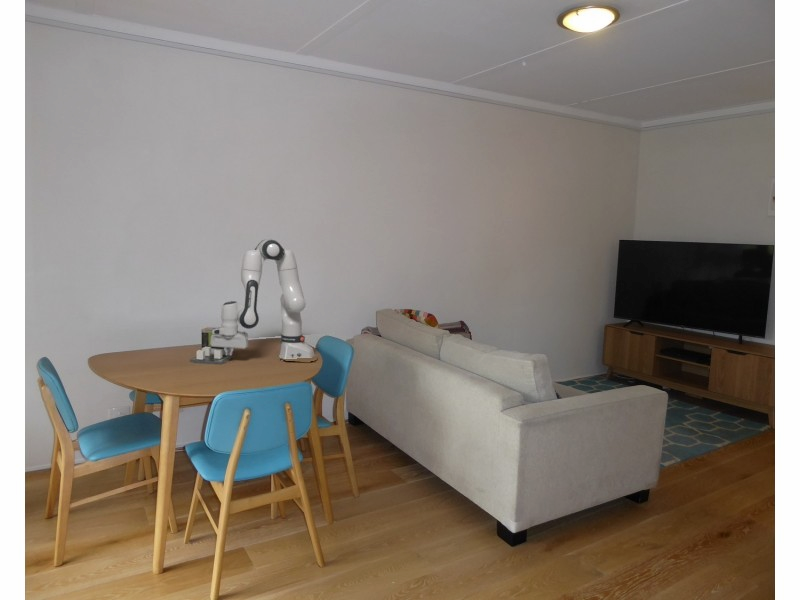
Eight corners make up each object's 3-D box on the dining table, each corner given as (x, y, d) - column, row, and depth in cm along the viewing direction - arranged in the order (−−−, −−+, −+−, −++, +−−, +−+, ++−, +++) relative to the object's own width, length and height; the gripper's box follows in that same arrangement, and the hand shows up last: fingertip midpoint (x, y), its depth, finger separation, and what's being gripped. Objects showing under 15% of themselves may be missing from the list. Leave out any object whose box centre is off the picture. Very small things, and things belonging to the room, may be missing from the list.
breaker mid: (222, 357, 308) (222, 349, 307) (220, 358, 305) (220, 350, 304) (216, 357, 308) (216, 349, 307) (214, 358, 305) (214, 350, 304)
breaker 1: (205, 358, 304) (205, 350, 303) (202, 359, 301) (202, 351, 300) (198, 357, 304) (198, 349, 303) (196, 359, 301) (196, 351, 300)
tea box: (232, 352, 330) (233, 327, 328) (225, 355, 320) (226, 330, 318) (208, 350, 331) (208, 325, 330) (200, 353, 321) (201, 328, 320)
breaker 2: (211, 354, 312) (211, 347, 312) (209, 355, 309) (209, 348, 309) (205, 354, 313) (205, 346, 312) (203, 355, 310) (203, 347, 309)
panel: (231, 358, 313) (231, 356, 313) (222, 364, 299) (222, 361, 299) (200, 356, 314) (200, 354, 314) (189, 362, 300) (189, 359, 300)
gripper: (249, 330, 307) (249, 355, 308) (213, 328, 308) (213, 352, 309) (246, 332, 300) (245, 357, 302) (209, 330, 301) (209, 355, 303)
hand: (229, 355), depth 306 cm, fingers closed
